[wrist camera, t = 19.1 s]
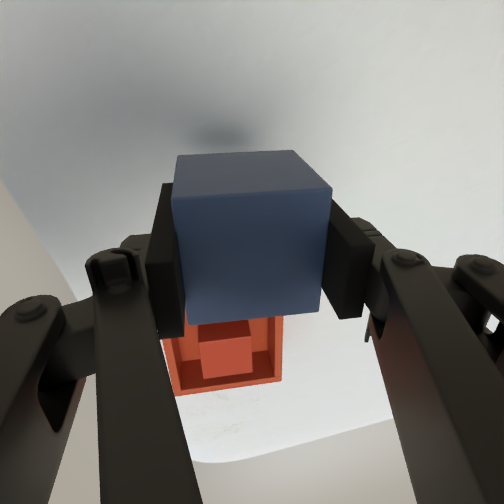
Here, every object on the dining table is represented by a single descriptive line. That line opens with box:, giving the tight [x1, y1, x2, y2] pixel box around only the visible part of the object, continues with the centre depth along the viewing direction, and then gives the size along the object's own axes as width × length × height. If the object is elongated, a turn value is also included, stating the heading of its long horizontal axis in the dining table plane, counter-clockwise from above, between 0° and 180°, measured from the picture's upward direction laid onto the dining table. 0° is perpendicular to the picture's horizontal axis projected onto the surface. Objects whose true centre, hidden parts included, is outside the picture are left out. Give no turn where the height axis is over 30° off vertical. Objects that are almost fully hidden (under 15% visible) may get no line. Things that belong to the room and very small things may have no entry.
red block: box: [198, 320, 253, 379], centre depth 35 cm, size 5×5×5 cm
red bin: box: [162, 309, 283, 396], centre depth 36 cm, size 12×12×5 cm
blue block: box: [171, 150, 333, 326], centre depth 14 cm, size 5×5×5 cm
